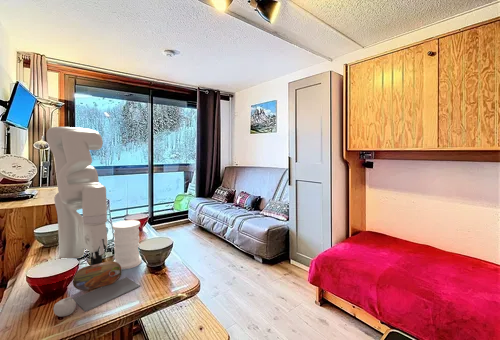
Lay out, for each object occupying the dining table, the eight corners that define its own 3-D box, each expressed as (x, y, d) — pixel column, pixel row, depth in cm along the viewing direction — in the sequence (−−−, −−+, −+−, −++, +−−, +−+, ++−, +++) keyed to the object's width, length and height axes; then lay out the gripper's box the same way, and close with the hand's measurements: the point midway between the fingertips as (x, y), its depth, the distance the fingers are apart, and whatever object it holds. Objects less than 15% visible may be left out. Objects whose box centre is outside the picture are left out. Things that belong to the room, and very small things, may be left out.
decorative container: (142, 256, 116) (141, 219, 115) (141, 267, 105) (140, 226, 104) (114, 259, 112) (113, 221, 110) (110, 271, 101) (109, 229, 100)
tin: (74, 293, 85) (70, 273, 83) (75, 287, 88) (72, 267, 86) (122, 281, 92) (120, 262, 90) (122, 276, 95) (120, 257, 92)
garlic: (81, 308, 78) (80, 292, 77) (69, 320, 72) (68, 303, 72) (62, 308, 77) (61, 292, 77) (48, 320, 72) (47, 303, 72)
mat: (73, 299, 82) (73, 298, 82) (126, 277, 96) (126, 276, 96) (85, 311, 76) (85, 310, 76) (140, 286, 90) (140, 285, 90)
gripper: (75, 217, 91) (77, 264, 92) (92, 224, 82) (94, 277, 83) (97, 213, 97) (98, 258, 98) (115, 220, 88) (116, 269, 89)
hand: (96, 266), depth 91 cm, fingers closed
